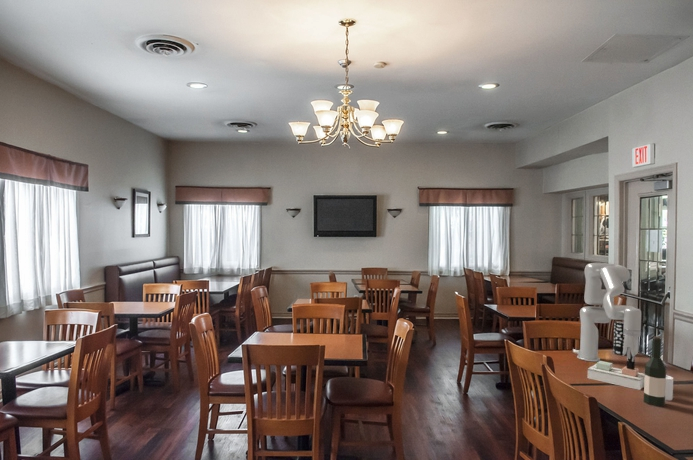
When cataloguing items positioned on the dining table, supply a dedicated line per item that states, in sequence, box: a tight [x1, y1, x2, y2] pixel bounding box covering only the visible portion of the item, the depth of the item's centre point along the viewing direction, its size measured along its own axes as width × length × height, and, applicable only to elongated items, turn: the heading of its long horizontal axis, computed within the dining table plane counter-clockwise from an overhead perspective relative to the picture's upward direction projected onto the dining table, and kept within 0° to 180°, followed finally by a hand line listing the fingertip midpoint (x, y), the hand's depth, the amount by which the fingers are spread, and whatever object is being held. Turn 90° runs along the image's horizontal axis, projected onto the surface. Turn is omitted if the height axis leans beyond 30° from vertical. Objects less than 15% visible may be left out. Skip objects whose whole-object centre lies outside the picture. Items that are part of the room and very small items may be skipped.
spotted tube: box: [612, 320, 627, 357], centre depth 306 cm, size 8×8×20 cm
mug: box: [665, 374, 674, 401], centre depth 228 cm, size 12×9×10 cm
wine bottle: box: [643, 335, 667, 407], centre depth 218 cm, size 8×8×30 cm
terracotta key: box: [621, 365, 639, 377], centre depth 245 cm, size 6×6×3 cm
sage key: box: [596, 360, 613, 371], centre depth 253 cm, size 6×6×3 cm
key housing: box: [586, 363, 645, 391], centre depth 249 cm, size 24×14×5 cm, turn 47°
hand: (630, 368), depth 245 cm, fingers closed
